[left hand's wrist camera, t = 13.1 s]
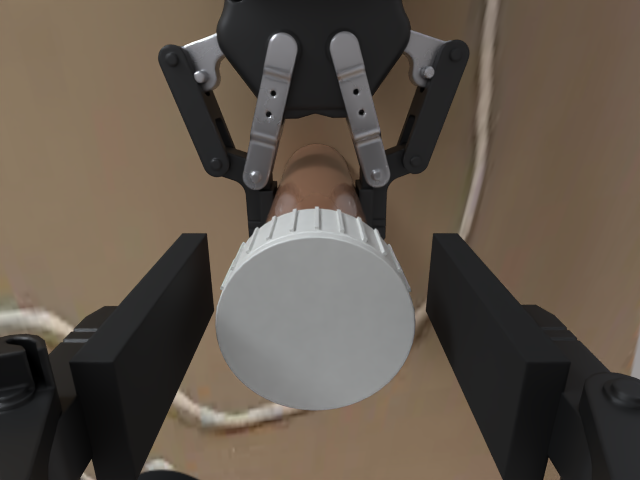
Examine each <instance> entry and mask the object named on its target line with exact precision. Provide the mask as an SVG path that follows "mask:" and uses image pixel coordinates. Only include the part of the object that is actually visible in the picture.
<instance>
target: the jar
mask: <svg viewBox="0 0 640 480" xmlns="http://www.w3.org/2000/svg"><path fill="white" fill-rule="evenodd" d="M315 207H319V209H328V210H334V211H337V209H339V210H341V212H342V213H345V214H348V215H350V216H353V217H355V218H357V217H360V218H361V220H362V221H363V222H364V223H365V224H367V221H366V218H365V215H364V212H363V209H362V206H361V203H360V200H359V198H358V195H357V192H356V189H355V186H354V183H353V180H352V177H351V174H350V171H349V169H348V166H347V163H346V161H345V159H344V158H343V157H342V155H341V154H340V153H339V152H338V151H336V150H335V149H333V148H332V147H329V146H327V145H323V144H311V145H307V146H304V147H302V148H300V149H299V150H297V151H296V152H295V153H294V154H293V155H292V156H291V157H290V159H289V160H288V162H287V165H286V167H285V170H284V173H283V176H282V178H281V181H280V184H279V187H278V189H277V192H276V195H275V198H274V200H273V203H272V206H271V209H270V211H269V214H268V217H267V220H266V222H265V224H266V223H268V222H269V221H271V220H272V217H274V216H276V217H279V216H281V215H283V214H286V213H290V212H293V209H297V210H304V209H315ZM367 225H368V224H367Z"/></svg>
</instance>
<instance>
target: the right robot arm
mask: <svg viewBox="0 0 640 480" xmlns="http://www.w3.org/2000/svg"><path fill="white" fill-rule="evenodd" d="M402 54H404V55H405V56H406V57H407V58H408V60H409V64H410V68H409V79H410V81H411V82H412V83H413V84H414V85H416V86H417V89H416V92H415V95H414V98H413V101H412V103H411V106H410V109H409V112H408V115H407V118H406V121H405V123H404V126H403V129H402V132H401V135H400V138H399V140H398V143H397V146H395V147H392V148H389V149H387V150H384V147H383V143H382V139H381V131H380V127H379V123H378V119H377V115H376V111H375V107H374V103H373V99H372V96H373V95H374V93H375V92H376V90H377V89H378V88H379V86H380V85H381V83H382V82H383V80H384V79H385V78H386V76H387V75H388V73H389V72H390V70H391V69H392V68H393V66H394V65H395V63H396V62H397V60H398V59H399V58H400V56H401V55H402ZM225 57H226V58H227V59H228V61H229V62H230V63H231V65H232V66H233V67H234V69H235V70H236V71H237V72H238V74H239V75H240V76H241V78H242V79H243V80H244V82H245V83H246V84H247V86H248V87H249V88H250V89H251V91H252V92H253V93H254V95H255V96H256V97H257V99H258V100H257V104H256V109H255V114H254V118H253V123H252V128H251V134H250V143H249V148H248V153H246V152H243V151H240V150H237V149H236V148H235V146H234V143H233V141H232V138H231V136H230V133H229V131H228V128H227V126H226V123H225V121H224V118H223V116H222V113H221V111H220V108H219V106H218V103H217V101H216V98H215V96H214V93H213V91H212V90H214V89H216V88H217V87H218V86H219V84H220V81H221V76H220V72H219V66H220V63H221V61H222V60H223V59H224V58H225ZM468 59H469V48H468V46H467V45H466V43H465V42H463V41H461V40H450V41H442V40H439V39H436V38H433V37H430V36H427V35H425V34H422V33H419V32H416V31H413V30H411V27H410V22H409V19H408V17H407V15H406V13H405V11H404V8H403V5H402V0H225V2H224V8H223V12H222V15H221V17H220V19H219V22H218V25H217V30H216V34H214V35H212V36H209V37H206V38H204V39H201V40H198V41H196V42H193V43H191V44H188V45H185V46H182V47H181V46H176V45H166V46H164V47H163V48H162V49H161V50H160V52H159V55H158V61H159V64H160V67H161V69H162V71H163V74H164V76H165V78H166V80H167V83H168V85H169V87H170V90H171V92H172V94H173V97H174V99H175V101H176V104H177V106H178V108H179V111H180V113H181V115H182V118H183V120H184V122H185V125H186V127H187V129H188V132H189V134H190V136H191V139H192V141H193V143H194V146H195V148H196V150H197V153H198V155H199V157H200V160H201V162H202V164H203V167H204V169H205V171H206V172H207V173H208V174H209V175H211V176H214V177H221V176H222V177H225V178H228V179H231V180H234V181H237V182H238V183H240V184H241V185H242V186H243V188H244V190H245V193H246V202H247V215H248V228H249V238H250V237H251V236H252V235H253V233H254V230H255V229H256V228H257V227H258V228H261V227H262V226H263V225H264V224H265V222H266V220H267V217H268V214H269V211H270V209H271V206H272V203H273V200H274V198H275V195H276V192H277V181H273V175H272V172H273V168H274V164H275V159H276V155H277V151H278V147H279V143H280V139H281V135H282V132H283V128H284V123H285V119H295V118H301V117H304V116H308V115H311V114H320V115H324V116H328V117H332V118H346V121H347V124H348V128H349V131H350V134H351V137H352V141H353V144H354V148H355V151H356V155H357V158H358V162H359V166H360V180H356V185H355V189H356V192H357V195H358V198H359V200H360V203H361V206H362V209H363V212H364V215H365V218H366V221H367V224H368V226H370V227H371V228H372V229H373V230H374V229H377V230H378V231H379V234H380V236H381V238H382V239H383V240H384V239H385V226H386V199H387V189H388V186H389V184H390V183H391V182H392V181H393V180H394V179H396V178H398V177H401V176H404V175H406V174H409V173H412V174H418V173H421V172H423V171H424V170H425V169H426V168H427V166H428V164H429V161H430V158H431V156H432V153H433V150H434V148H435V145H436V143H437V140H438V137H439V135H440V132H441V129H442V127H443V124H444V122H445V119H446V116H447V114H448V111H449V108H450V106H451V103H452V101H453V98H454V95H455V93H456V90H457V88H458V85H459V82H460V80H461V77H462V74H463V72H464V69H465V67H466V64H467V61H468Z"/></svg>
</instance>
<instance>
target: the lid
mask: <svg viewBox="0 0 640 480" xmlns="http://www.w3.org/2000/svg"><path fill="white" fill-rule="evenodd" d="M220 289H221V290H223V291H222V293H221V296H220V299H219V302H218V305H217V309H216V310H217V312H216V334H217V340H218V343H219V347H220V350H221V352H222V355H223V357H224V359H225V361H226V363H227V364H228V366H229V367H230V369H231V370H232V372H233V373H234V374H235V375H236V376H237V378H238V379H239V380H240V381H241V382H242V383H244V384H245V385H246V386H247V387H248V388H250V389H251V390H252V391H254V392H255V393H256V394H258V395H260V396H262V397H264V398H265V399H267V400H270V401H272V402H274V403H277V404H280V405H283V406H287V407H291V408H296V409H302V410H328V409H336V408H340V407H344V406H348V405H351V404H354V403H357V402H359V401H361V400H363V399H365V398H367V397H369V396H371V395H373V394H374V393H376V392H377V391H379V390H380V389H381V388H383V387H384V386H385V385H386V384H387V383H389V382H390V381H391V379H392V378H393V377H394V376H395V375H396V374H397V373H398V371H399V370H400V369H401V367H402V366H403V364H404V362H405V360H406V359H407V357H408V355H409V352H410V349H411V346H412V344H413V339H414V334H415V313H414V312H415V309H414V307H413V303H412V299H411V297H410V294H409V292H411V289H410V286H409V284H408V282H407V279H406V277H405V275H404V273H403V270H402V268H401V266H400V264H399V261H397V258H396V256H395V254H394V252H393V249H392V247H391V245H390V244H388V245H387V244H386V243H385V241H384V240H383V239H382V238H381V236H380V234H379V231H378V230H377V229H374V230H373V229H372V228H371V227H370V226H368V225H367V224H365V223H364V222H363V221H362V220H361V218H360V217H357V218H355V217H353V216H350V215H348V214H345V213H342V212H341V210H339V209H337V211H334V210H328V209H319V207H315V209H304V210H297V209H293V212H290V213H286V214H283V215H281V216H279V217H276V216H274V217H272V220H271V221H269V222H268V223H266V224H264V225H263V226H262V227H261V228H258V227H257V228H256V229H255V230H254V233H253V235H252V236H251V237H250V238H249V239H248V241H247V242H246V243H244V242H243V243H242V244H241V246H240V249H239V251H238V253H237V255H236V257H235V259H234V260H233V262H232V264H231V266H230V268H229V271H228V273H227V275H226V277H225V279H224V281H223V283H222V286H221V288H220Z"/></svg>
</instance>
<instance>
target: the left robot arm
mask: <svg viewBox="0 0 640 480" xmlns="http://www.w3.org/2000/svg"><path fill="white" fill-rule="evenodd" d="M213 312H214V304H213V293H212V283H211V272H210V262H209V251H208V241H207V233H182V235H181V236H180V237H179V238H178V239H177V240H176V241H175V242H174V244H173V245H172V246H171V247H170V248H169V249H168V250H167V251H166V253H165V254H164V255H163V256H162V257H161V258H160V259H159V260H158V262H157V263H156V264H155V265H154V266H153V267H152V268H151V270H150V271H149V272H148V273H147V274H146V275H145V276H144V277H143V279H142V280H141V281H140V282H139V283H138V284H137V285H136V286H135V288H134V289H133V290H132V291H131V292H130V293H129V294H128V295H127V297H126V298H125V299H124V300H123V301H122V302H121V303H120V305H119V306H104V307H102V308H101V309H99V310H97V311H95V312H94V313H92V314H90V315H88V316H86V317H85V318H84V319H83V320H82V321H81V322H80V323H79V324H78V325H77V326H76V327H75V328H74V331H73V332H71V333H70V334H69V335H68V336H67V337H66V338H65V339H64V340H63V342H61V343H60V344H59V345H58V346H57V347H56V348H55V349H54V350H53V351H52V352H51V353H50V354H49V355H48V351H47V347H46V344H45V340H43V339H42V338H41V337H39V336H37V335H30V334H18V335H9V336H4V337H0V480H80V477H81V476H82V474H83V472H84V471H85V469H86V467H87V466H88V464H89V462H90V461H91V459H92V462H93V466H94V470H95V474H96V478H97V480H137V479H138V477H139V474H140V472H141V470H142V468H143V466H144V463H145V461H146V459H147V457H148V455H149V453H150V450H151V448H152V446H153V444H154V442H155V439H156V437H157V435H158V433H159V431H160V428H161V426H162V424H163V422H164V420H165V417H166V415H167V413H168V411H169V409H170V406H171V404H172V402H173V400H174V398H175V395H176V393H177V391H178V389H179V387H180V384H181V382H182V380H183V378H184V376H185V373H186V371H187V369H188V367H189V365H190V363H191V360H192V358H193V356H194V354H195V352H196V349H197V347H198V345H199V343H200V341H201V338H202V336H203V334H204V332H205V330H206V327H207V325H208V323H209V321H210V319H211V316H212V314H213ZM426 312H427V314H428V316H429V319H430V321H431V323H432V325H433V327H434V330H435V332H436V334H437V336H438V338H439V341H440V343H441V345H442V347H443V349H444V352H445V354H446V356H447V358H448V360H449V363H450V365H451V367H452V369H453V371H454V373H455V376H456V378H457V380H458V382H459V384H460V387H461V389H462V391H463V393H464V395H465V398H466V400H467V402H468V404H469V406H470V409H471V411H472V413H473V415H474V417H475V420H476V422H477V424H478V426H479V428H480V431H481V433H482V435H483V437H484V439H485V442H486V444H487V446H488V448H489V450H490V453H491V455H492V457H493V459H494V461H495V463H496V466H497V468H498V470H499V472H500V474H501V477H502V479H503V480H543V478H544V474H545V470H546V466H547V462H548V457H549V458H550V460H551V462H552V463H553V465H554V466H555V468H556V470H557V471H558V473H559V475H560V480H640V380H639V379H637V378H634V377H631V376H627V375H624V374H620V373H612V372H610V371H609V370H608V369H607V368H606V367H605V366H604V365H603V364H602V363H601V362H600V361H599V360H598V359H597V358H596V357H595V356H594V355H593V354H592V353H591V352H590V351H589V350H588V349H587V348H586V347H585V346H584V345H583V344H582V343H581V342H580V341H577V338H576V337H575V336H574V335H573V334H572V333H571V332H570V331H569V330H567V327H566V326H565V325H564V324H563V323H562V322H561V321H560V320H559V319H558V318H557V317H556V316H555V315H553V314H551V313H549V312H548V311H546V310H544V309H542V308H541V307H539V306H537V305H520V303H519V302H518V301H517V300H516V299H515V298H514V297H513V295H512V294H511V293H510V292H509V291H508V290H507V289H506V288H505V286H504V285H503V284H502V283H501V282H500V281H499V280H498V279H497V277H496V276H495V275H494V274H493V273H492V272H491V271H490V270H489V268H488V267H487V266H486V265H485V264H484V263H483V262H482V260H481V259H480V258H479V257H478V256H477V255H476V254H475V253H474V251H473V250H472V249H471V248H470V247H469V246H468V245H467V244H466V242H465V241H464V240H463V239H462V238H461V237H460V236H459V235H458V233H433V241H432V251H431V262H430V272H429V283H428V293H427V304H426Z"/></svg>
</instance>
